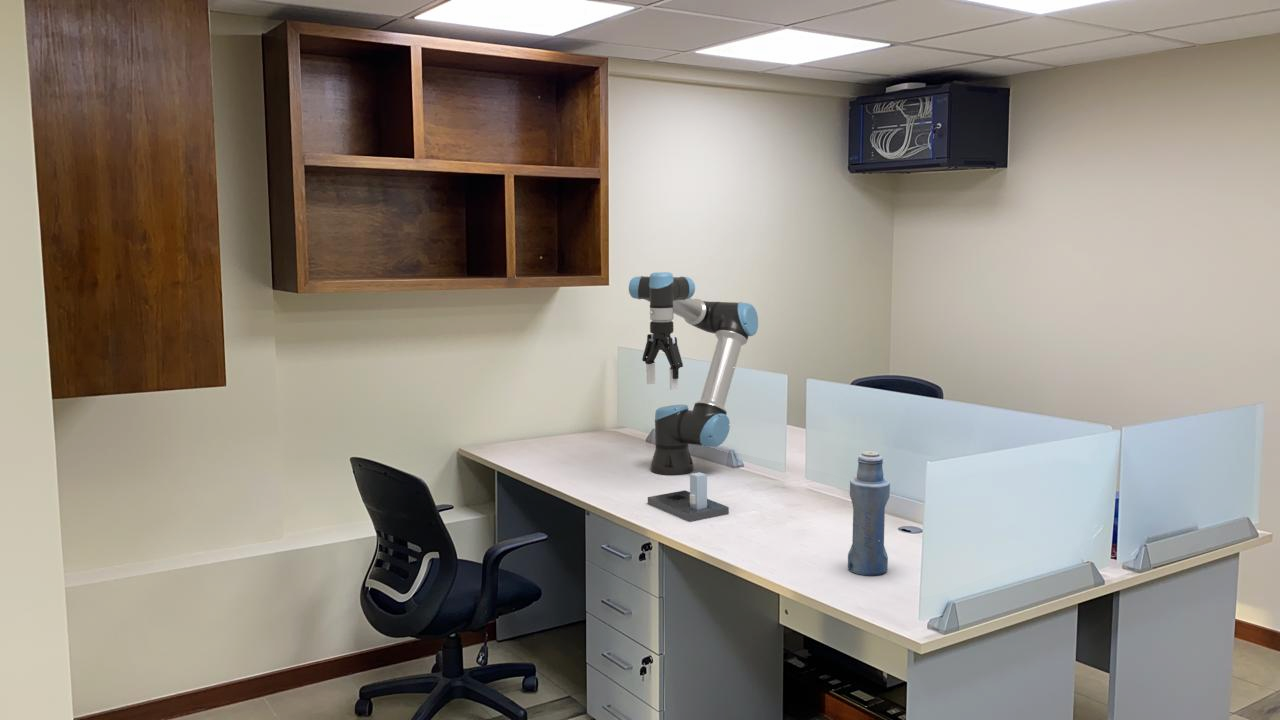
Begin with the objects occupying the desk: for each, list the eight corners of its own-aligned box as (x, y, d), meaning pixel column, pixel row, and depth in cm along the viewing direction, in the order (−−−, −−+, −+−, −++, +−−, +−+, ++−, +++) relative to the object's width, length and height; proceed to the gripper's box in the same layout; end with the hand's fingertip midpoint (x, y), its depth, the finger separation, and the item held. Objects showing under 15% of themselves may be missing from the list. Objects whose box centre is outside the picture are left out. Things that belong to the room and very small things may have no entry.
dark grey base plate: (685, 499, 316) (685, 490, 315) (728, 516, 296) (728, 506, 296) (647, 506, 308) (647, 497, 308) (690, 524, 289) (689, 514, 289)
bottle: (849, 561, 255) (851, 447, 251) (889, 565, 252) (891, 449, 248) (846, 574, 246) (847, 455, 242) (887, 577, 243) (889, 457, 239)
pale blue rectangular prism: (700, 511, 300) (699, 472, 298) (707, 514, 297) (706, 474, 295) (688, 513, 297) (688, 474, 296) (695, 516, 294) (694, 476, 293)
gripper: (631, 318, 327) (632, 382, 330) (673, 324, 306) (674, 392, 309) (650, 317, 331) (651, 380, 334) (693, 322, 310) (694, 390, 313)
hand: (662, 386), depth 322 cm, fingers open, 13 cm apart
